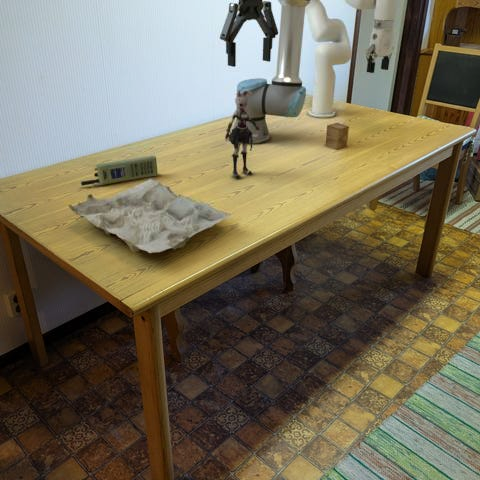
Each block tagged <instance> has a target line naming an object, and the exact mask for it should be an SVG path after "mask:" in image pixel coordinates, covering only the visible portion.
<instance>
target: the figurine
mask: <svg viewBox="0 0 480 480" xmlns="http://www.w3.org/2000/svg"><path fill="white" fill-rule="evenodd" d="M243 88H244V86H243ZM243 88H241V89H239V90H237V89H236V93H237V95H236V96H235V99H234V102H235V106H236V108H237V107H239V108H238V110H237V109H236V110H234V112H233V115H232V117H231V120H230V122H229V123H228V125H227V128H226V129H225V131H226V134H225V135H224V140H225V142H226V143H228V142H230V143H231V145H232V146H233V153H232V154H231V157H232V164H233V170H232V177H233V178H234V179H240V178H241V175H240V174H239V173H238V171H237V168H238V167H237V166H238V165H237V163H238V158H239V152H240V148H241V149H242V150H241V152H240V155H242V157H241V158H242V161H243V165H242V166H243V167H242V173H244V174H246V175H252V172H251V170H249V168H248V167H247V154H248V150H247V149H248V145H250V148H249V151H250V152H251V151H252V149H253V145H255V144H254V143H253V144H252V142H253V140H252V138H253V136H252V134H253V133H252V132H251V131H250V130H249V129H248V126H247V125H246V121H247V120H249V122H250V123H252V124H253V125H254V126H255V128H256V131H257V132H258V133H260V129H259V128H258V126H257V125H256V122H255V121H253V120H252V118H250V116H249V114H248V112H247V110H246V109H245V108H246V107H247V101H248V99H247V97H246V94H247V92H248V93H249V94H250V95H252V93H251V91H250V90H248V89H246V90H244V91H243V93H242V95H240V91H241V90H242V89H243ZM236 118H237V121H238V122H239V123H238V125H237V126H236V127H235V128H234V127H233V123H234V122H235V121H236ZM232 127H233V128H234V129H233V128H232ZM249 139H250V144H249ZM241 142H242V143H241Z"/></svg>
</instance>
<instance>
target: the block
mask: <svg viewBox="0 0 480 480" xmlns="http://www.w3.org/2000/svg"><path fill="white" fill-rule="evenodd" d="M349 130H350V126H349V125H347V124H344V123H341V122H335V123H331V124H327V125H326V131H325V132H326V133H325V141H324V142H325V143H324V145H325V146H326V147H329V148H332V149H334V150H339V149H342V148H345V147H348V138H349V132H350V131H349Z"/></svg>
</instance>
